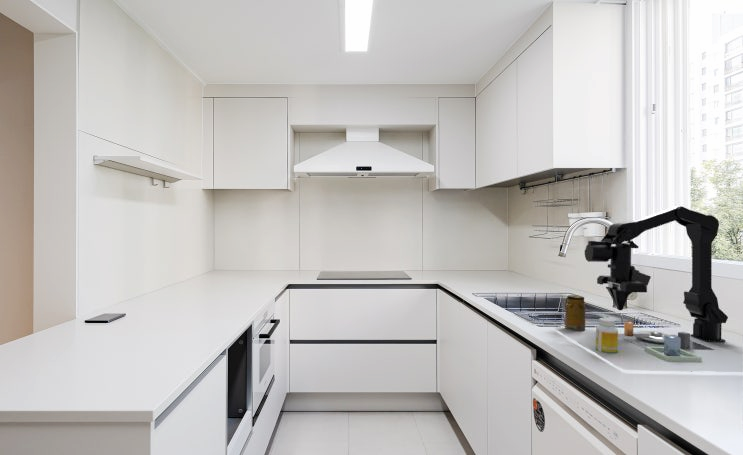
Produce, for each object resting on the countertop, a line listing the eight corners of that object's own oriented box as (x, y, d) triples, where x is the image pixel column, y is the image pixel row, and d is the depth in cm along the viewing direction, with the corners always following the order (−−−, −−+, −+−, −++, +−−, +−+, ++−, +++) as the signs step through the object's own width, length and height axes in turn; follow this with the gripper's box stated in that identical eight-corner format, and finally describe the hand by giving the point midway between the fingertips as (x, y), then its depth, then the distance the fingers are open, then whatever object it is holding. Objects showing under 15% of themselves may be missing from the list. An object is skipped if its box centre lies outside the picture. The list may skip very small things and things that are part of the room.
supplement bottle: (591, 351, 118) (591, 317, 118) (605, 349, 119) (605, 316, 119) (607, 357, 113) (608, 322, 112) (622, 355, 114) (622, 320, 114)
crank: (661, 333, 133) (662, 319, 133) (687, 343, 122) (687, 327, 122) (614, 333, 133) (614, 318, 133) (635, 343, 122) (636, 327, 122)
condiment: (570, 327, 145) (570, 293, 144) (595, 332, 138) (595, 297, 138) (560, 331, 140) (560, 296, 140) (585, 336, 133) (586, 299, 133)
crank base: (674, 337, 133) (674, 321, 133) (715, 352, 117) (715, 335, 117) (612, 336, 134) (613, 320, 134) (644, 351, 118) (644, 334, 118)
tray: (676, 353, 116) (676, 347, 116) (701, 364, 107) (701, 357, 107) (644, 353, 116) (644, 346, 116) (666, 363, 107) (667, 357, 107)
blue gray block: (665, 354, 114) (665, 334, 114) (681, 357, 112) (681, 337, 112) (662, 356, 112) (662, 336, 112) (678, 360, 109) (679, 339, 109)
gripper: (665, 265, 123) (664, 317, 123) (629, 259, 141) (629, 304, 142) (627, 264, 123) (626, 316, 124) (596, 259, 142) (596, 304, 142)
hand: (620, 310), depth 133 cm, fingers closed
